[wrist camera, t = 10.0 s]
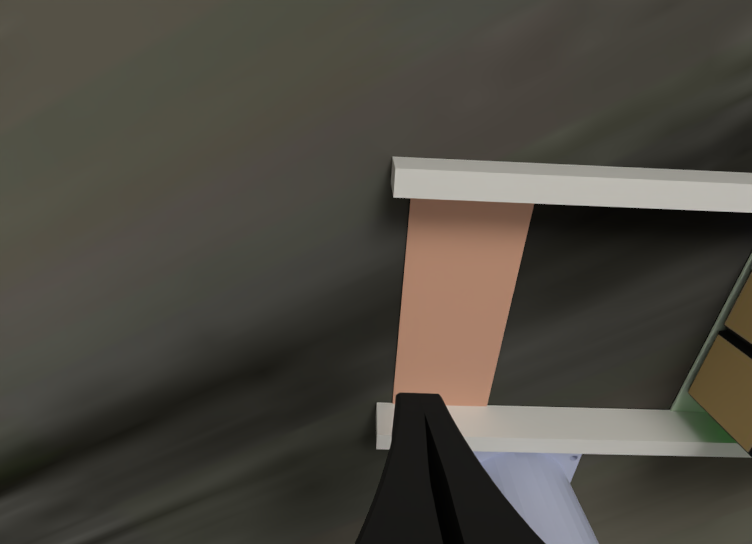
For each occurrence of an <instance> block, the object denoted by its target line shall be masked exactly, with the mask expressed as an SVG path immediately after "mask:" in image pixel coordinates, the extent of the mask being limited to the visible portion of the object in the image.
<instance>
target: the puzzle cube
mask: <svg viewBox="0 0 752 544" xmlns="http://www.w3.org/2000/svg"><path fill="white" fill-rule="evenodd" d="M724 326H725V328H726V329H727V330H722V331H719V332H718V334H717V336H716V338H715V340H714V342H713V344H712V346H711V348H710V350H709V351H708V353H707V355H706V357H705V359H704V361H703V363H702V365H701V367H700V369H699V371H698V373H697V374H696V376H695V378H694V380H693V382H692V384H691V386H690V388H689V390H688V393H689V395H690V396H691V397H692V398H693V399H694V400H695V401H696V402H697V403H698V404H699V405H700V406H701V407H702V408H703V409H704V410H705V411H706V412H707V413H708V414H709V415H710V416H711V417H712V418H713V419H714V420H715V421H716V422H717V423H718V424H719V425H720V426H721V427H722V428H723V429H724V430H725V431H726V432H727V433H728V434H729V435H730V436H731V437H732V438H733V439H734V440H735V441H736V442H737V443H738V444H739V445H740V446H741V447H742V448H743V449H744V450H745V451H746V452H747V453H748V454H749V455H750V456H751V457H752V270H751V272H750V274H749V276H748V278H747V279H746V281H745V283H744V285H743V287H742V289H741V291H740V293H739V295H738V297H737V299H736V301H735V302H734V304H733V306H732V308H731V310H730V312H729V314H728V316H727V318H726V320H725V322H724Z"/></svg>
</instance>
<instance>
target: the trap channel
mask: <svg viewBox="0 0 752 544" xmlns="http://www.w3.org/2000/svg"><path fill="white" fill-rule="evenodd" d="M391 187H392V192H393V198H410V209H409V221H408V232H407V244H406V255H405V266H404V278H403V289H402V300H401V312H400V323H399V334H398V346H397V357H396V368H395V380H394V391H393V402H392V403H380V402H377V406H376V449H390V445H391V440H392V427H393V417H394V408H395V399H396V395H397V394H398V393H400V392H402V393H433V394H439V395H440V396H441V397H442V399H443V401H444V403H445V405H446V407H447V409H448V411H449V413H450V414H451V416H452V418H453V420H454V422H455V423H456V425H457V427H458V429H459V430H460V432H461V434H462V435H463V437H464V439H465V440H466V442H467V443H468V445H469V446H470V448H471V450H472V451H481V452H525V453H570V454H615V455H659V456H704V457H748V458H752V457H751V456H750V455H749V454H748V453H747V452H746V451H745V450H744V449H743V448H742V447H741V446H740V445H739V444H738V443H737V442H736V441H735V440H734V439H733V438H732V437H731V436H730V435H729V434H728V433H727V432H726V431H725V430H724V429H723V428H722V427H721V426H720V425H719V424H718V423H717V422H716V421H715V420H714V419H713V418H712V417H711V416H710V415H709V414H708V413H707V412H706V411H705V410H704V409H703V408H702V407H701V406H700V405H699V404H698V403H697V402H696V401H695V400H694V399H693V398H692V397H691V396H690V395H689V393H688V390H689V388H690V386H691V384H692V382H693V380H694V378H695V376H696V374H697V373H698V371H699V369H700V367H701V365H702V363H703V361H704V359H705V357H706V355H707V353H708V351H709V350H710V348H711V346H712V344H713V342H714V340H715V338H716V336H717V334H718V332H719V331H722V330H727V329H726V328H725V326H724V322H725V320H726V318H727V316H728V314H729V312H730V310H731V308H732V306H733V304H734V302H735V301H736V299H737V297H738V295H739V293H740V291H741V289H742V287H743V285H744V283H745V281H746V279H747V278H748V276H749V274H750V272H751V270H752V253H751V255H750V257H749V259H748V261H747V262H746V264H745V266H744V268H743V270H742V272H741V274H740V276H739V278H738V280H737V282H736V284H735V285H734V287H733V289H732V291H731V293H730V295H729V297H728V299H727V301H726V303H725V305H724V307H723V309H722V310H721V312H720V314H719V316H718V318H717V320H716V322H715V324H714V326H713V328H712V330H711V332H710V333H709V335H708V337H707V339H706V341H705V343H704V345H703V347H702V349H701V351H700V353H699V355H698V357H697V358H696V360H695V362H694V364H693V366H692V368H691V370H690V372H689V374H688V376H687V378H686V380H685V381H684V383H683V385H682V387H681V389H680V391H679V393H678V395H677V397H676V399H675V401H674V403H673V404H672V406H671V408H670V410H648V409H610V408H571V407H533V406H495V405H487V403H488V398H489V394H490V390H491V386H492V381H493V377H494V373H495V369H496V364H497V360H498V356H499V352H500V347H501V343H502V339H503V335H504V330H505V326H506V322H507V317H508V313H509V309H510V305H511V300H512V296H513V292H514V288H515V283H516V279H517V275H518V271H519V266H520V262H521V258H522V254H523V249H524V245H525V241H526V236H527V232H528V228H529V224H530V219H531V215H532V211H533V207H534V203H535V204H558V205H582V206H605V207H629V208H653V209H676V210H700V211H723V212H747V213H752V173H741V172H719V171H697V170H675V169H653V168H631V167H610V166H588V165H566V164H544V163H522V162H500V161H478V160H456V159H434V158H412V157H392V170H391Z"/></svg>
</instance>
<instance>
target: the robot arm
mask: <svg viewBox="0 0 752 544" xmlns="http://www.w3.org/2000/svg"><path fill="white" fill-rule="evenodd" d="M581 455H582V454H570V453H525V452H481V451H472V450H471V448H470V446H469V445H468V443H467V442H466V440H465V439H464V437H463V435H462V434H461V432H460V430H459V429H458V427H457V425H456V423H455V422H454V420H453V418H452V416H451V414H450V413H449V411H448V409H447V407H446V405H445V403H444V401H443V399H442V397H441V396H440V395H439V394H433V393H402V392H400V393H398V394H397V395H396V399H395V408H394V417H393V427H392V440H391V445H390V449H389V453H388V457H387V460H386V463H385V467H384V470H383V473H382V477H381V480H380V482H379V485H378V488H377V491H376V494H375V496H374V499H373V502H372V504H371V507H370V510H369V512H368V514H367V517H366V519H365V522H364V524H363V526H362V529H361V531H360V533H359V536H358V538H357V540H356V542H355V544H599V543H598V541H597V539H596V537H595V534H594V532H593V530H592V528H591V526H590V524H589V522H588V520H587V518H586V516H585V514H584V512H583V510H582V508H581V506H580V503H579V501H578V499H577V497H576V495H575V493H574V491H573V489H572V487H571V485H570V482H571V479H572V477H573V475H574V472H575V470H576V467H577V465H578V463H579V460H580V458H581Z"/></svg>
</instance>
